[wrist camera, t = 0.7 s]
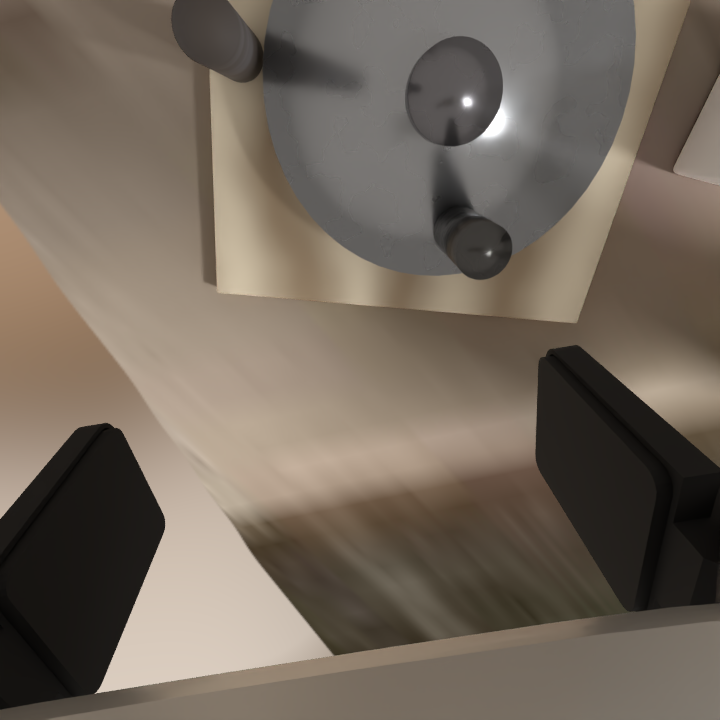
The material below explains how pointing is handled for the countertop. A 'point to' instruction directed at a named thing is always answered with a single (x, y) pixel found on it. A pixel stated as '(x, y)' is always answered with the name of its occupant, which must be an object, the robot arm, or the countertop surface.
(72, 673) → the robot arm
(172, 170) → the countertop surface
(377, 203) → the flange plate
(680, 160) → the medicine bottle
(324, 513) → the countertop surface
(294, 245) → the base board
